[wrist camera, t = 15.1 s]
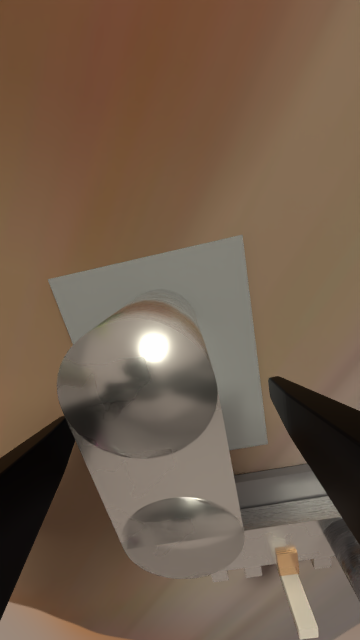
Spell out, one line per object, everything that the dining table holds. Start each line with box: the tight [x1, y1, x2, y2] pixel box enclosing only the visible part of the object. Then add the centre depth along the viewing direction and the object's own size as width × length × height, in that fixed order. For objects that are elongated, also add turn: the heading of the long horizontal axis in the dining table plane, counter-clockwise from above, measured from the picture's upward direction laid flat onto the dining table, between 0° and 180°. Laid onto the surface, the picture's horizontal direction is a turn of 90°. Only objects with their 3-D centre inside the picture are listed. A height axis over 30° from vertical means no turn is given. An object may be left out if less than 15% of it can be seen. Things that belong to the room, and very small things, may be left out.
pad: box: [48, 235, 268, 450], centre depth 12 cm, size 10×13×1 cm
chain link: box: [57, 289, 245, 579], centre depth 9 cm, size 4×10×6 cm, turn 12°
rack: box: [211, 496, 360, 601], centre depth 13 cm, size 13×5×4 cm, turn 102°
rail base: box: [234, 464, 328, 639], centre depth 13 cm, size 19×9×4 cm, turn 102°
